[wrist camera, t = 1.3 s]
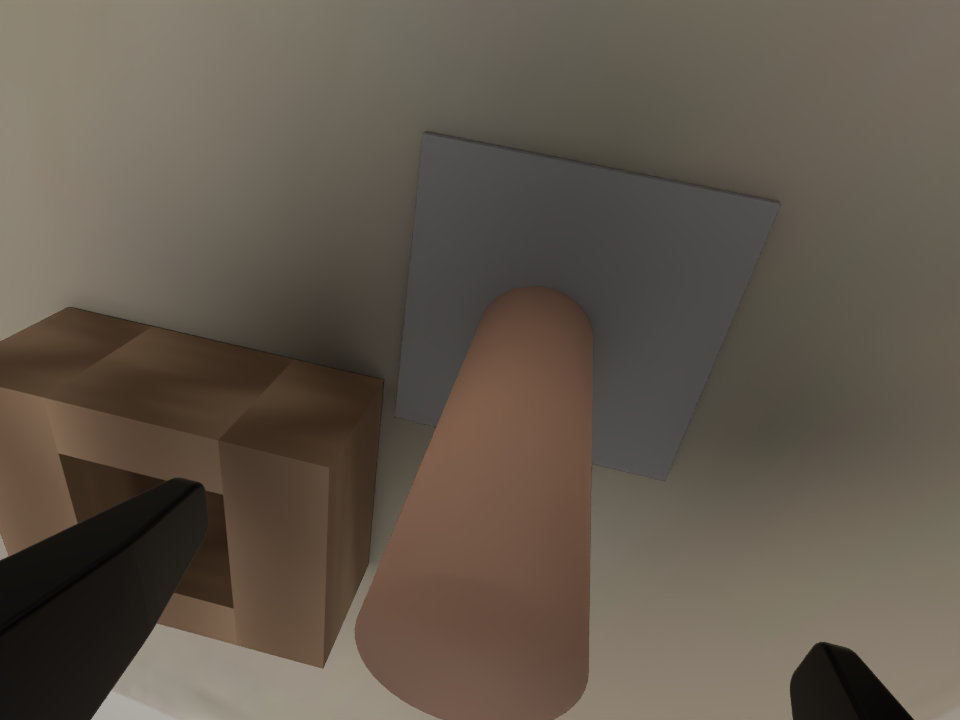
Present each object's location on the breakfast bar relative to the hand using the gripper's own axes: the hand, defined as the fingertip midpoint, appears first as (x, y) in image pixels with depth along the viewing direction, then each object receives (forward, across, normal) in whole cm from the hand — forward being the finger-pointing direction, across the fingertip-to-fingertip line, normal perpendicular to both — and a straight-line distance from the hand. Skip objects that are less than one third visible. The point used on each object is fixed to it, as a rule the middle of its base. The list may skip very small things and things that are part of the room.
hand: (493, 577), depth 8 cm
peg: (+8, 0, 0) cm, 8 cm away
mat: (+8, 0, 0) cm, 8 cm away
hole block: (+8, +9, +7) cm, 14 cm away
